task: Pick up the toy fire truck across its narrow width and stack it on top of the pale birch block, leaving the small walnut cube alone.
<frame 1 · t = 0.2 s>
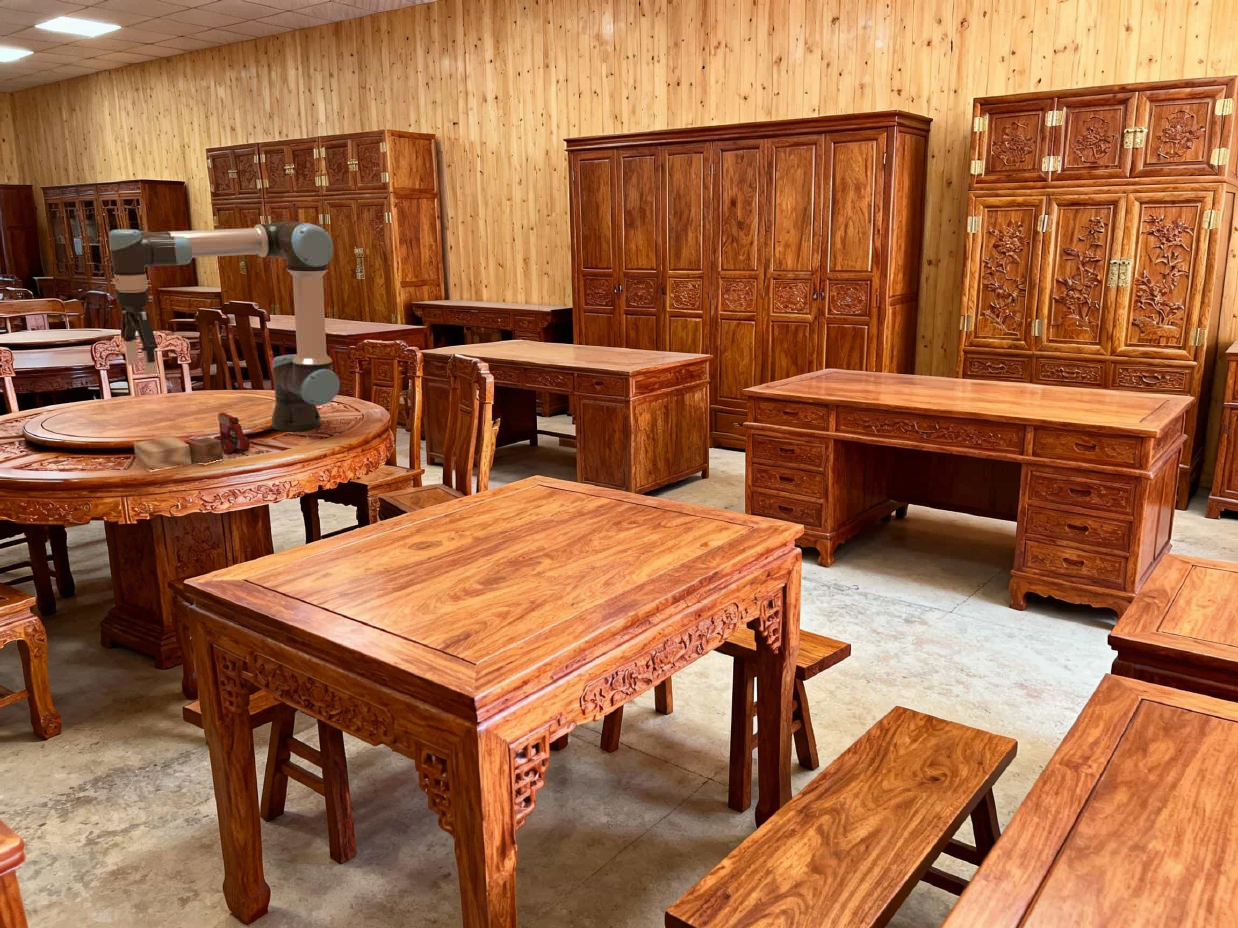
hand: (142, 369, 248), 27 cm above the table, tool pointing down, fingers open, 13 cm apart
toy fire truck: (232, 450, 273), on the table
walnut cube: (207, 461, 262), on the table
birch block: (164, 464, 259), on the table
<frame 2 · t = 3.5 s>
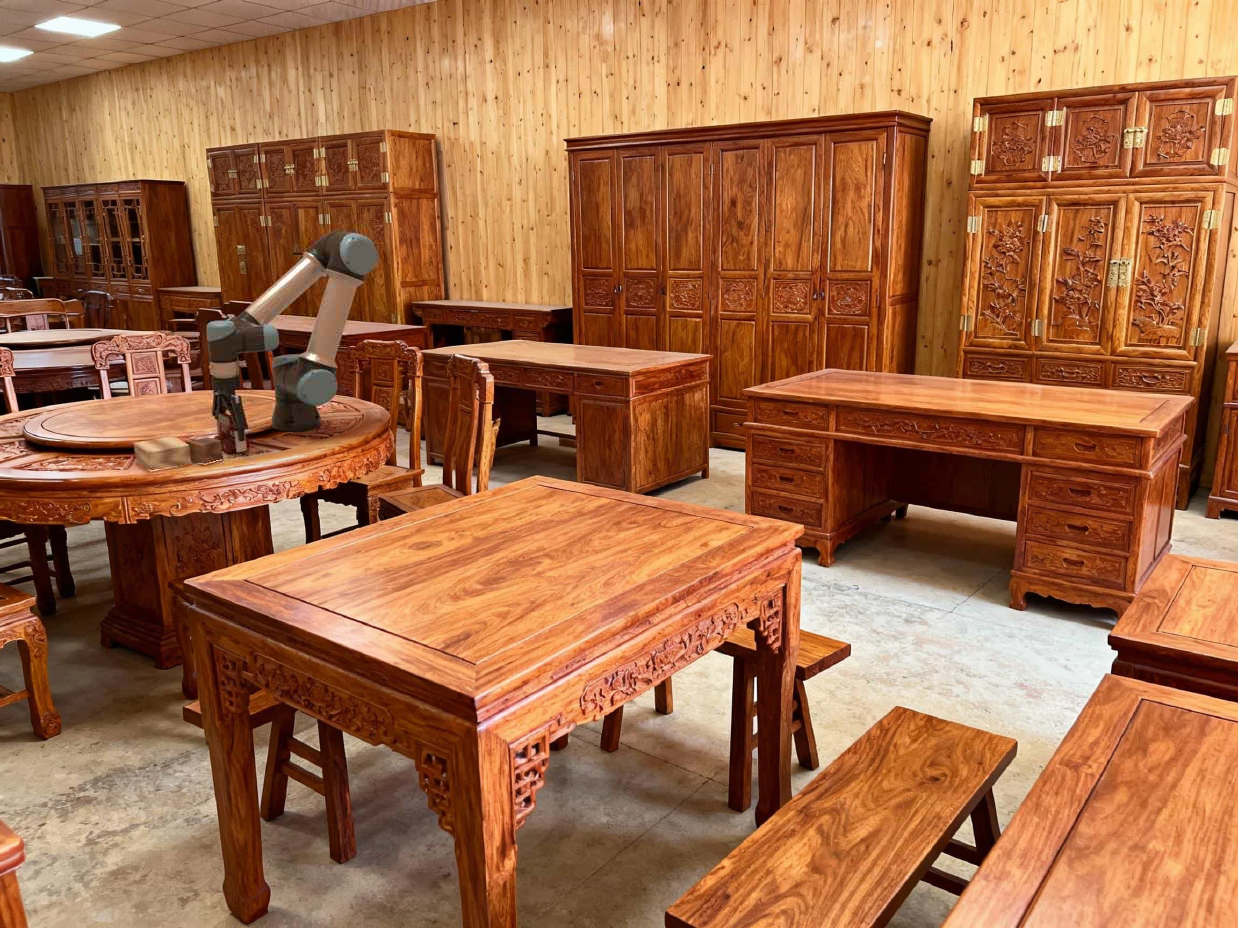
hand: (232, 445, 272), 1 cm above the table, tool pointing down, fingers closed on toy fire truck, 12 cm apart
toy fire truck: (232, 449, 273), on the table, touching gripper
everything else where it was.
when the fingers open (9 cm above the table, at t = 8.2 s): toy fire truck drops 2 cm, point 5 cm above the table.
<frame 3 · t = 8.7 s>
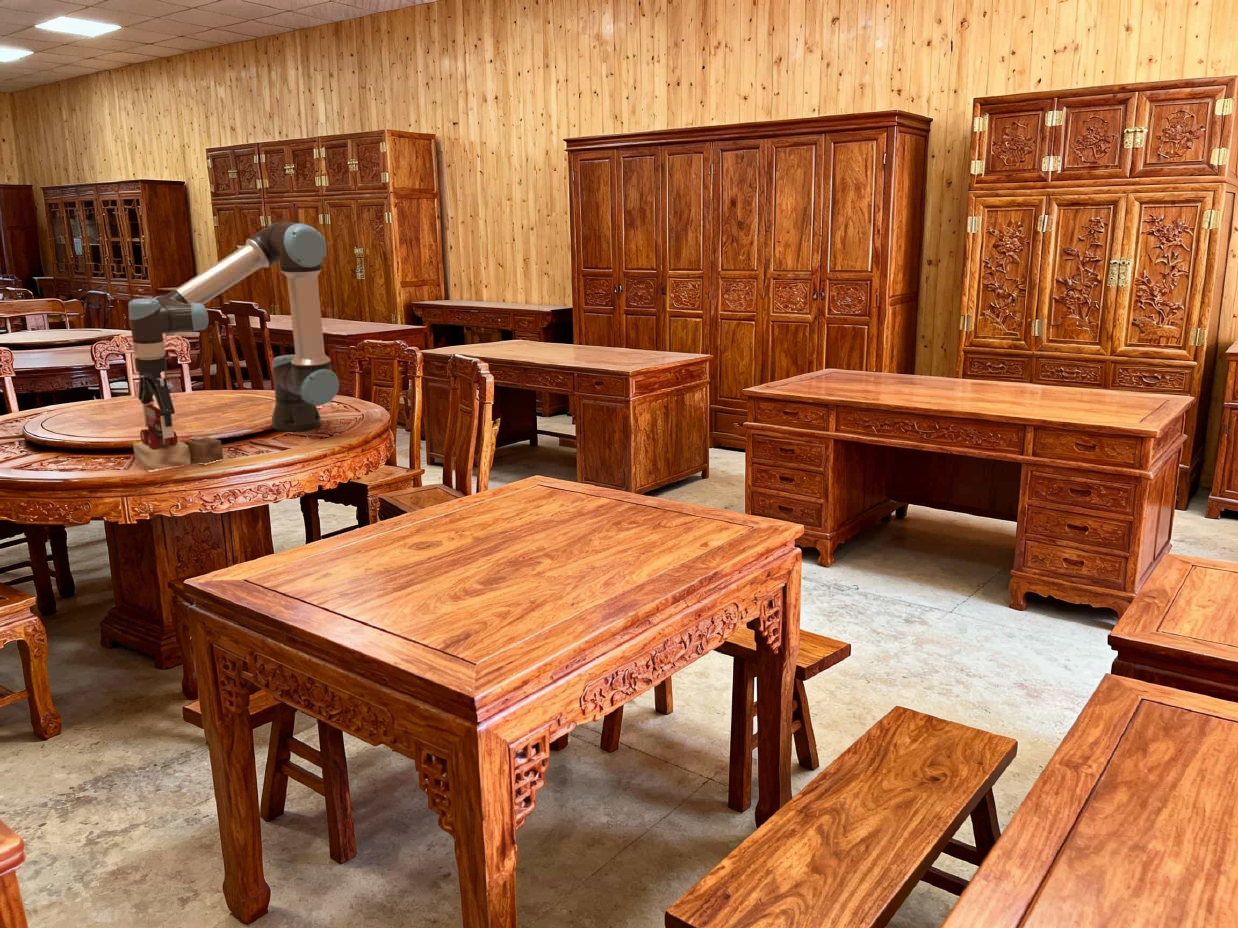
hand: (159, 431, 256), 9 cm above the table, tool pointing down, fingers open, 13 cm apart
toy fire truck: (160, 444, 257), point 5 cm above the table, touching gripper
everything else where it was.
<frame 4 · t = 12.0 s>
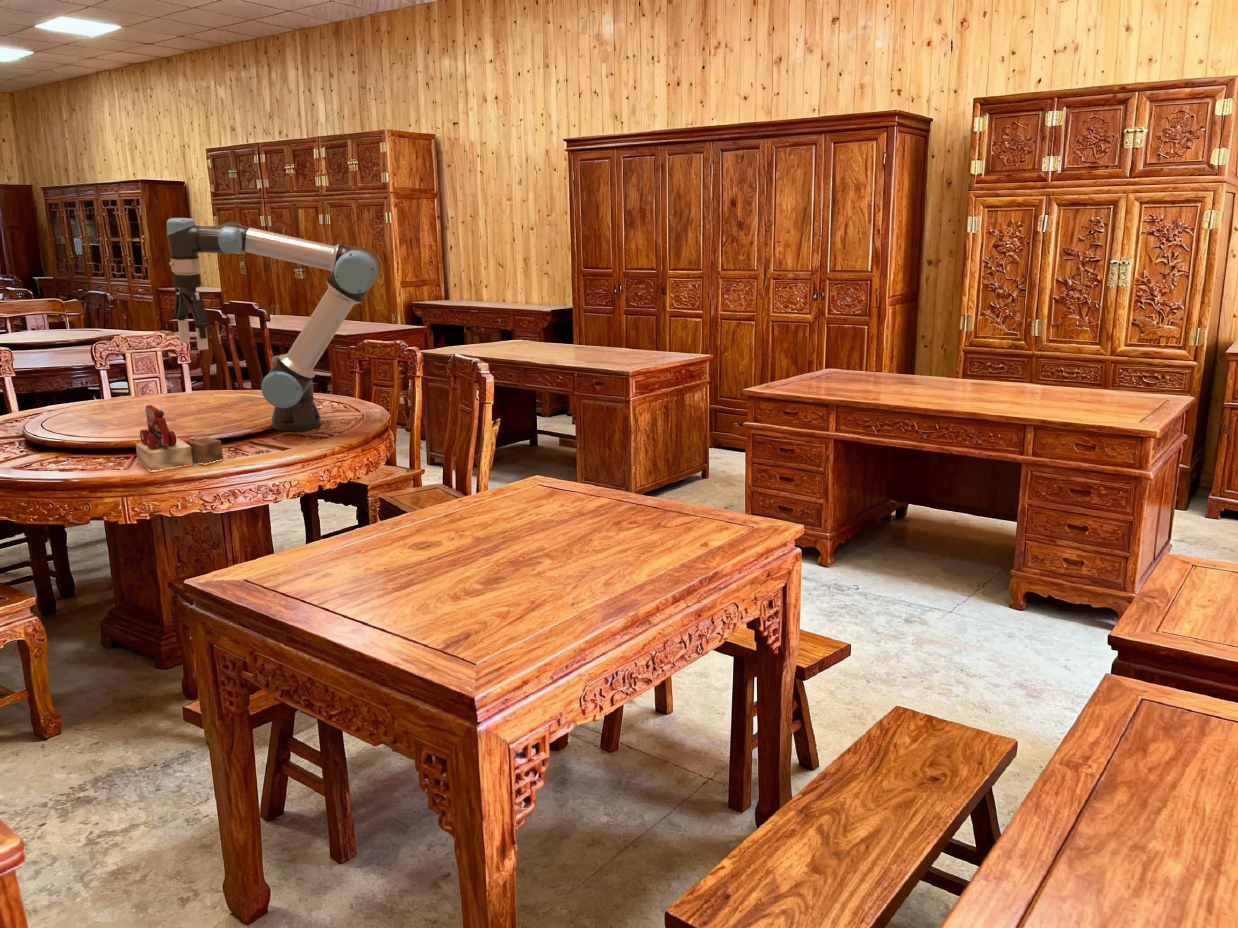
hand: (194, 345, 273), 29 cm above the table, tool pointing down, fingers open, 13 cm apart
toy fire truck: (159, 445, 257), point 5 cm above the table, touching birch block
birch block: (165, 465, 258), on the table, touching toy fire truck
everything else where it was.
at the end: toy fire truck inside the target area on the birch block (1.1 cm from its centre), point 5.8 cm above the birch block's base; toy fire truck tilted 0°; the gripper is holding nothing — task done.
